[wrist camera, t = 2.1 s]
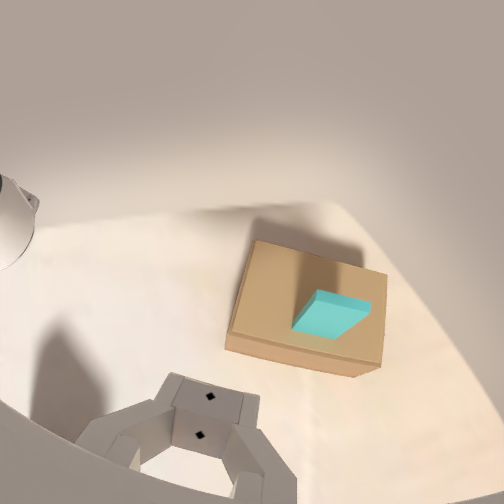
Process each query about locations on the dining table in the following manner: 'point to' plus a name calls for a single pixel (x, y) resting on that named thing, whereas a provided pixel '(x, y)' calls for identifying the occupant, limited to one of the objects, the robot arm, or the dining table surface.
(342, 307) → the hinged cardboard lid
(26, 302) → the dining table surface
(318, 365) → the carton
